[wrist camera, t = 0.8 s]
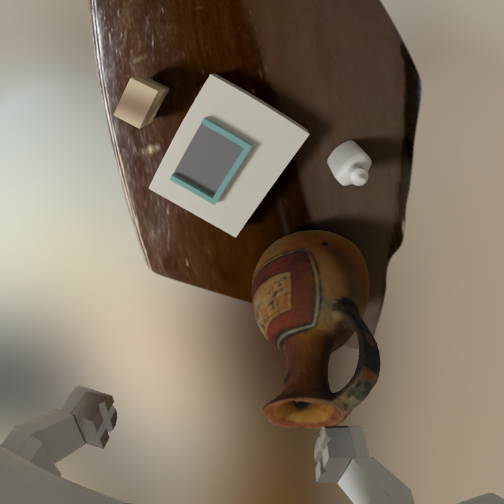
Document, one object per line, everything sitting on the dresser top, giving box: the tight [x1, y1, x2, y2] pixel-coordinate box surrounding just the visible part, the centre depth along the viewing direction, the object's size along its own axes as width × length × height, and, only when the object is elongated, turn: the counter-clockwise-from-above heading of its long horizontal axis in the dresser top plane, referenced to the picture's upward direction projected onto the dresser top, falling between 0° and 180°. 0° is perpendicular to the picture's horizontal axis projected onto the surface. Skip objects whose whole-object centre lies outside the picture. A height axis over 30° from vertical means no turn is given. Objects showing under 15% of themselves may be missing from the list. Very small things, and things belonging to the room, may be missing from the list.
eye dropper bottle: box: [327, 140, 372, 186], centre depth 42 cm, size 4×6×12 cm
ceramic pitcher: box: [252, 230, 380, 428], centre depth 46 cm, size 20×20×30 cm
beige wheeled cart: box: [114, 76, 170, 129], centre depth 41 cm, size 6×5×7 cm
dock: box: [149, 74, 310, 237], centre depth 46 cm, size 20×16×5 cm
